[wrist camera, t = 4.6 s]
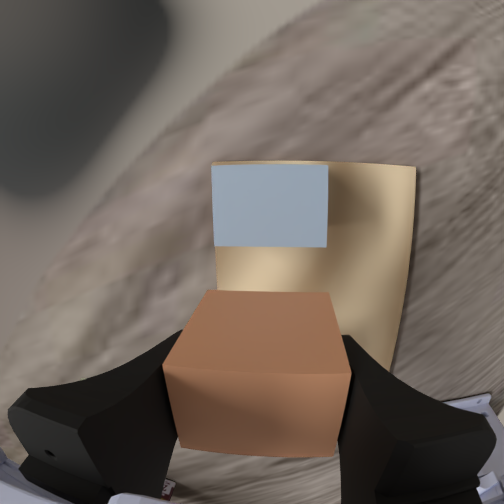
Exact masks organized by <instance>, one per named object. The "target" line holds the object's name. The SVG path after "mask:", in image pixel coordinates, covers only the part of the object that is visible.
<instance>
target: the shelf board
mask: <svg viewBox="0 0 504 504" xmlns="http://www.w3.org/2000/svg"><path fill="white" fill-rule="evenodd" d="M248 164H308V165H328V219H327V246H326V247H242V246H215V253H216V272H217V290H228V291H266V292H329V295H330V298H331V302H332V305H333V308H334V312H335V315H336V319H337V322H338V325H339V329H340V332H341V335H350V336H351V337H352V338H353V339H354V340H355V341H356V342H357V343H358V344H359V345H360V346H361V347H362V348H363V349H364V350H365V351H366V352H367V353H368V354H369V355H370V356H371V357H372V358H373V359H374V360H376V361H377V362H378V363H379V364H380V365H381V366H382V367H384V368H385V369H386V370H387V371H389V370H390V366H391V362H392V358H393V353H394V349H395V344H396V340H397V335H398V330H399V325H400V319H401V314H402V308H403V303H404V297H405V290H406V284H407V276H408V269H409V261H410V253H411V243H412V233H413V221H414V206H415V186H416V167H410V166H398V165H385V164H370V163H352V162H328V161H229V162H212V166H217V165H248Z"/></svg>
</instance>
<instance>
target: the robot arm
mask: <svg viewBox="0 0 504 504" xmlns="http://www.w3.org/2000/svg"><path fill="white" fill-rule="evenodd" d="M182 331H183V330H180V331H178V332H176V333H175V334H173V335H172V336H170V337H169V338H167V339H166V340H164V341H163V342H161V343H159V344H158V345H156V346H155V347H153V348H152V349H150V350H149V351H147V352H145V353H143V354H142V355H140V356H138V357H136V358H135V359H133V360H131V361H129V362H128V363H126V364H124V365H121V366H119V367H117V368H115V369H113V370H110V371H108V372H105V373H103V374H100V375H97V376H94V377H91V378H87V379H84V380H81V381H77V382H73V383H68V384H63V385H57V386H49V387H39V388H28V389H27V390H26V391H25V392H24V393H23V394H22V395H21V396H20V397H19V398H18V399H17V400H16V401H15V403H14V404H13V405H12V406H11V407H10V408H9V409H8V419H9V422H10V425H11V427H12V429H13V431H14V432H15V434H16V435H17V437H18V439H19V440H20V442H21V443H22V445H23V447H24V448H25V450H26V451H27V453H28V454H29V455H28V457H27V458H26V459H25V461H24V462H23V463H22V464H21V465H19V464H17V463H15V462H14V461H12V460H10V459H8V458H7V457H6V454H5V453H4V451H3V450H2V448H1V447H0V504H180V503H175V502H170V501H166V500H161V496H162V491H163V487H164V482H165V478H166V475H167V471H168V467H169V463H170V459H171V456H172V453H173V449H174V446H175V443H176V440H177V438H178V434H177V430H176V426H175V421H174V417H173V413H172V409H171V404H170V400H169V395H168V390H167V386H166V381H165V376H164V371H163V366H162V364H163V363H164V361H165V359H166V358H167V356H168V354H169V353H170V351H171V349H172V348H173V346H174V344H175V343H176V341H177V339H178V338H179V336H180V335H181V333H182ZM341 336H342V340H343V343H344V347H345V350H346V354H347V358H348V362H349V365H350V369H351V379H350V384H349V389H348V394H347V399H346V404H345V409H344V413H343V418H342V422H341V427H340V431H339V435H338V439H337V441H338V447H339V454H340V471H341V504H504V427H503V425H502V424H501V422H500V420H499V419H498V417H497V416H496V414H495V413H494V411H493V409H492V408H491V406H490V405H489V401H490V399H491V395H490V394H489V393H487V394H483V395H478V396H474V397H469V398H464V399H459V400H453V401H448V402H440V401H438V400H435V399H433V398H431V397H429V396H427V395H425V394H423V393H421V392H419V391H417V390H415V389H413V388H412V387H410V386H409V385H407V384H405V383H404V382H402V381H401V380H399V379H398V378H396V377H395V376H394V375H392V374H391V373H390V372H389V371H387V370H386V369H385V368H384V367H382V366H381V365H380V364H379V363H378V362H377V361H376V360H374V359H373V358H372V357H371V356H370V355H369V354H368V353H367V352H366V351H365V350H364V349H363V348H362V347H361V346H360V345H359V344H358V343H357V342H356V341H355V340H354V339H353V338H352V337H351V336H350V335H341Z"/></svg>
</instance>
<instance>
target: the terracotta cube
mask: <svg viewBox="0 0 504 504" xmlns="http://www.w3.org/2000/svg"><path fill="white" fill-rule="evenodd" d="M162 366H163V371H164V376H165V381H166V386H167V390H168V395H169V400H170V404H171V409H172V413H173V417H174V421H175V426H176V430H177V434H178V438H179V441H180V445H181V448H187V449H194V450H201V451H209V452H217V453H227V454H237V455H250V456H268V457H332V456H333V455H334V451H335V447H336V443H337V439H338V435H339V431H340V427H341V422H342V418H343V413H344V409H345V404H346V399H347V394H348V389H349V384H350V379H351V369H350V365H349V362H348V358H347V354H346V350H345V347H344V343H343V340H342V336H341V332H340V329H339V325H338V322H337V319H336V315H335V312H334V308H333V305H332V302H331V298H330V295H329V292H266V291H228V290H207V292H206V293H205V295H204V297H203V298H202V300H201V302H200V303H199V305H198V307H197V308H196V310H195V311H194V313H193V315H192V316H191V318H190V320H189V321H188V323H187V325H186V326H185V328H184V330H183V331H182V333H181V335H180V336H179V338H178V339H177V341H176V343H175V344H174V346H173V348H172V349H171V351H170V353H169V354H168V356H167V358H166V359H165V361H164V363H163V364H162Z"/></svg>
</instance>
